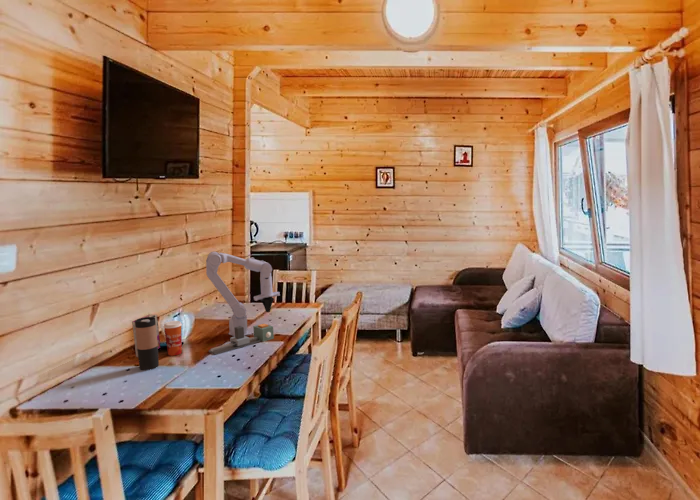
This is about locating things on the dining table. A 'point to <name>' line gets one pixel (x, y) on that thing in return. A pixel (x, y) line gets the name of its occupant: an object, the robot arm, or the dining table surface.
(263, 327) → the button
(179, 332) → the paper cup
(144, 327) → the travel mug
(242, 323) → the robot arm
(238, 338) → the carriage
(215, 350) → the rail
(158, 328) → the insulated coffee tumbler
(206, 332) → the dining table surface
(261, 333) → the cabinet
